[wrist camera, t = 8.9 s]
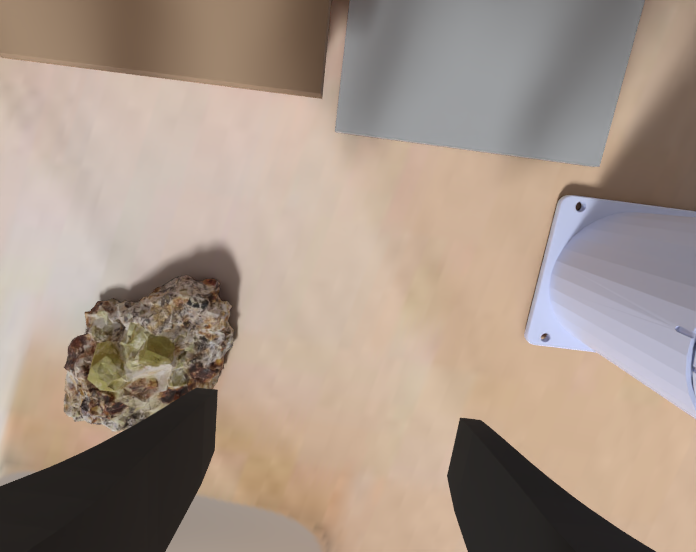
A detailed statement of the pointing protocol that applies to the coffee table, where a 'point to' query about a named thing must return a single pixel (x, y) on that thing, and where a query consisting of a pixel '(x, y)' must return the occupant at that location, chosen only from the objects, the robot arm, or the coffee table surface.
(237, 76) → the walnut lid
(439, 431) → the coffee table surface
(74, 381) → the mineral rock
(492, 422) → the coffee table surface
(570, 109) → the rubber mat
